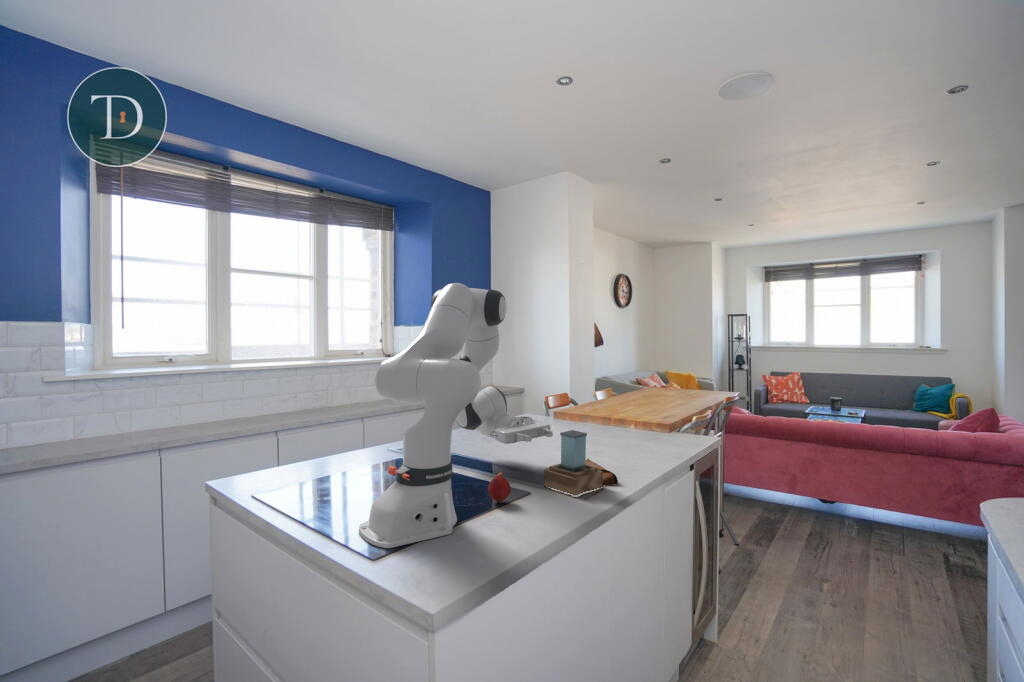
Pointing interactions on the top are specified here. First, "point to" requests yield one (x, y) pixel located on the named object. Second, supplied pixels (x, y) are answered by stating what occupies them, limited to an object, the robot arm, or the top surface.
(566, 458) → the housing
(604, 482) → the sunglasses case
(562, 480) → the walnut stand
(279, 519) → the top surface
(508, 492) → the onion
